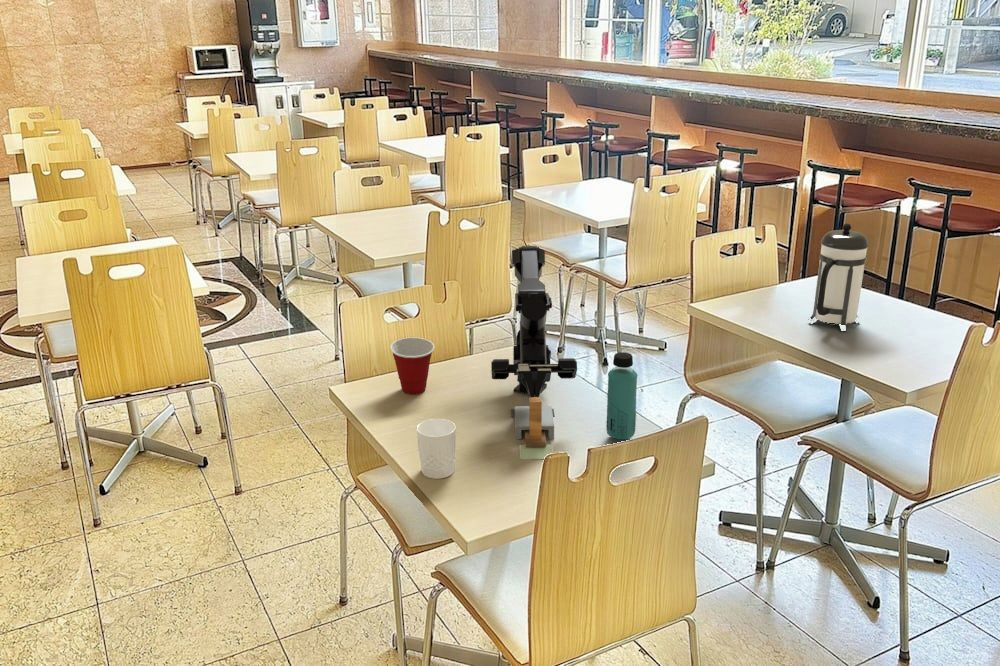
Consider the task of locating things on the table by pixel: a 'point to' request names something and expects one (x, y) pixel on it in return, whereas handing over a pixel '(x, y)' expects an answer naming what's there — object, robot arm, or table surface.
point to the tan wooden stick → (535, 424)
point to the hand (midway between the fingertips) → (534, 405)
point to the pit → (514, 413)
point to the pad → (534, 452)
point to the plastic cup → (412, 362)
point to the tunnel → (523, 420)
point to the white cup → (437, 447)
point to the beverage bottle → (621, 397)
